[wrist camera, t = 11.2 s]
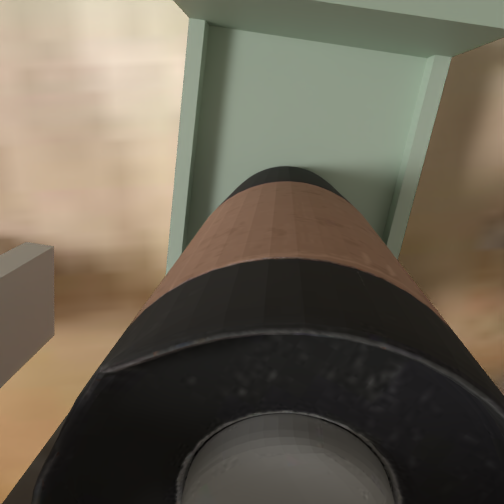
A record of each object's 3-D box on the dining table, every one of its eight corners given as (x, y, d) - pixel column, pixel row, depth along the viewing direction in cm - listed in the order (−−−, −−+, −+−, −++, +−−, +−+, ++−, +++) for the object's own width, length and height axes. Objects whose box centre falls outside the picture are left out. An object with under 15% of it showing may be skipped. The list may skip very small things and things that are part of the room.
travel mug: (360, 274, 26) (586, 726, 6) (237, 297, 27) (116, 747, 7) (338, 146, 23) (576, 255, 4) (205, 176, 24) (-71, 373, 5)
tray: (202, -2, 23) (154, -74, 15) (440, 34, 23) (535, -19, 14) (172, 306, 29) (124, 385, 20) (363, 337, 28) (397, 431, 20)
